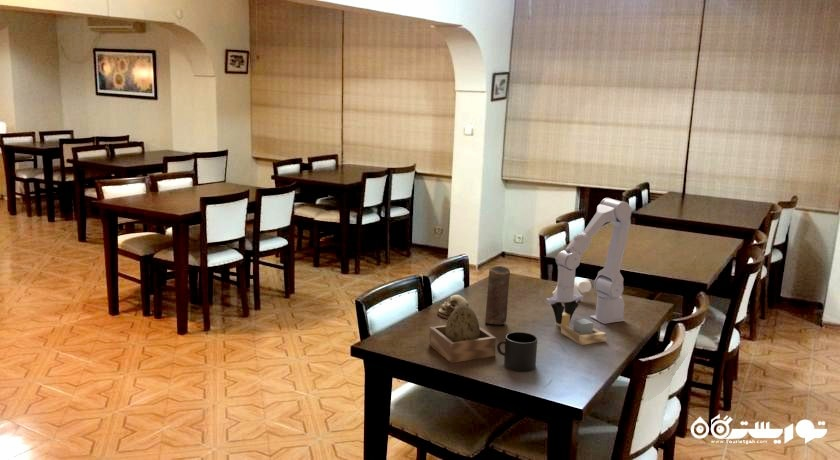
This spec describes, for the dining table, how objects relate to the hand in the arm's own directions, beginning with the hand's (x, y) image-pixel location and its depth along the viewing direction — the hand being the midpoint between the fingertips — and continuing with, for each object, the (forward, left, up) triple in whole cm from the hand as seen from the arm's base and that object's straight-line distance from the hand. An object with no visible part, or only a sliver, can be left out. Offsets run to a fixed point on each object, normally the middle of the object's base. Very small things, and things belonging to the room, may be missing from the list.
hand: (562, 322), depth 246 cm
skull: (+31, -24, -2) cm, 39 cm away
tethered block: (0, +6, -1) cm, 6 cm away
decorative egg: (+44, +8, -2) cm, 45 cm away
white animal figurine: (-22, -25, -2) cm, 33 cm away
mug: (+34, +24, -2) cm, 41 cm away
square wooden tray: (+44, +8, -1) cm, 45 cm away
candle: (+21, -10, -2) cm, 23 cm away
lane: (0, +11, -1) cm, 11 cm away
